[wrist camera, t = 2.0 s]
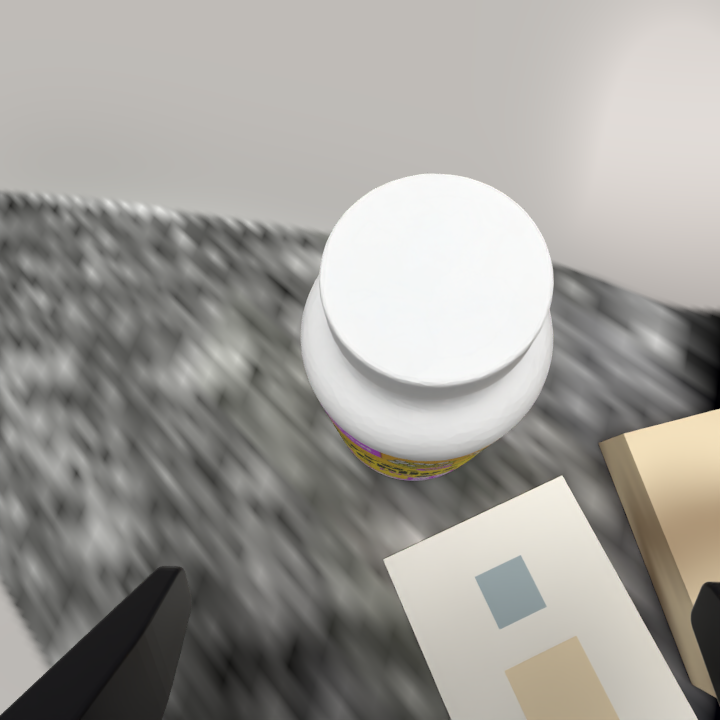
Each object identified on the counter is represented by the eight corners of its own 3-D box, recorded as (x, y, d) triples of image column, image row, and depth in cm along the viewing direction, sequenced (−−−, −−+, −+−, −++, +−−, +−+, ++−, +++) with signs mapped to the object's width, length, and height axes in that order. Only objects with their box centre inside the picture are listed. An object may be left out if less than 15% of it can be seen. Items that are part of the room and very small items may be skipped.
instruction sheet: (707, 740, 18) (711, 742, 18) (504, 844, 18) (505, 848, 18) (561, 475, 21) (562, 475, 21) (383, 559, 21) (382, 559, 21)
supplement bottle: (309, 440, 22) (204, 345, 10) (376, 311, 24) (355, 92, 12) (453, 511, 21) (533, 502, 9) (513, 370, 23) (652, 195, 10)
